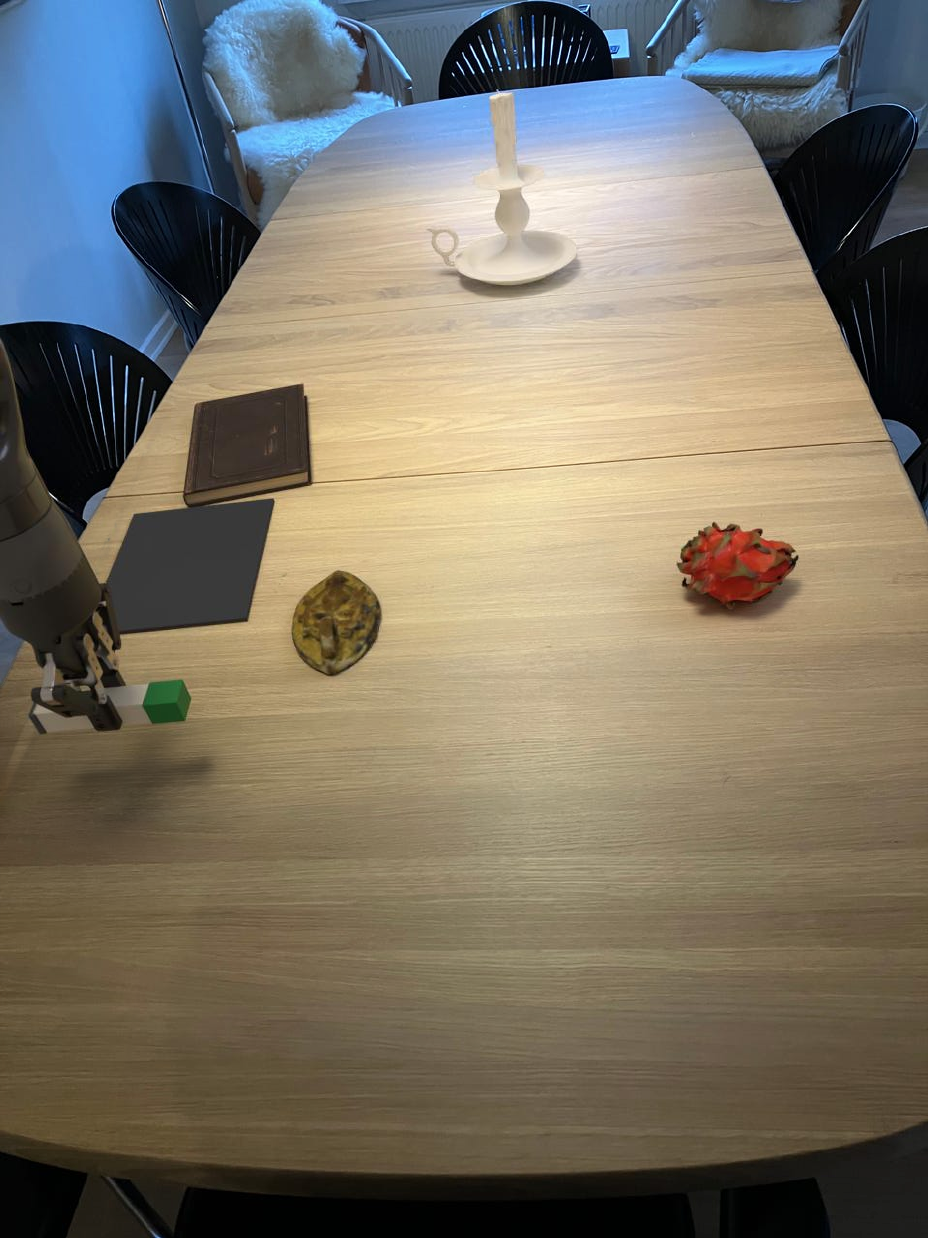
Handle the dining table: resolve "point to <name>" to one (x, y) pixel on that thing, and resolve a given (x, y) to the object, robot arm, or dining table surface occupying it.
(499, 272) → the candlestick
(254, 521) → the mat
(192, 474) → the hardcover book
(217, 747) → the dining table surface
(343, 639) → the seal
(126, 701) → the marker
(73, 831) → the dining table surface
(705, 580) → the dragon fruit
